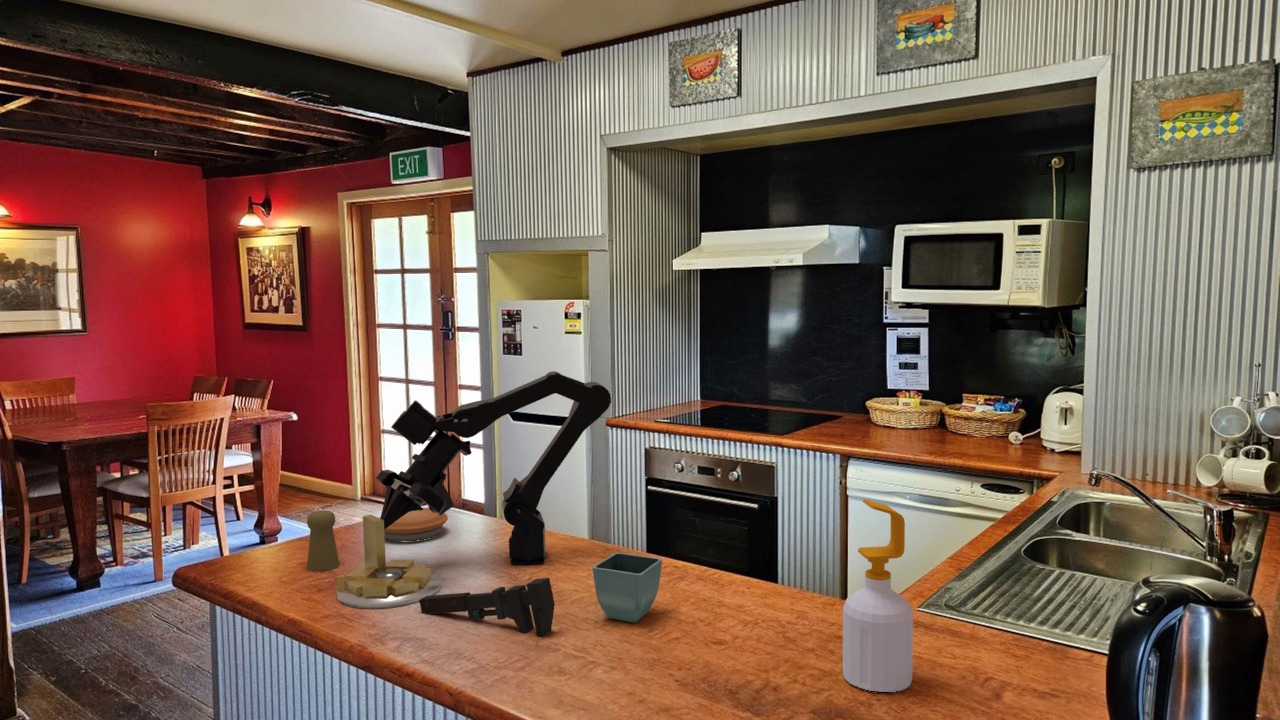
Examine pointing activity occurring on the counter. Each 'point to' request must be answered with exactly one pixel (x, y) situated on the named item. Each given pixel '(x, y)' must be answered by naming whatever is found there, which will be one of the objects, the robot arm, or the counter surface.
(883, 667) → the soap bottle
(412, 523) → the pie
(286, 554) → the counter surface
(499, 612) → the adjustable wrench
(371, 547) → the tan block ring
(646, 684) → the counter surface
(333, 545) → the olive pepper mill
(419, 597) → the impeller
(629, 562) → the flower pot
